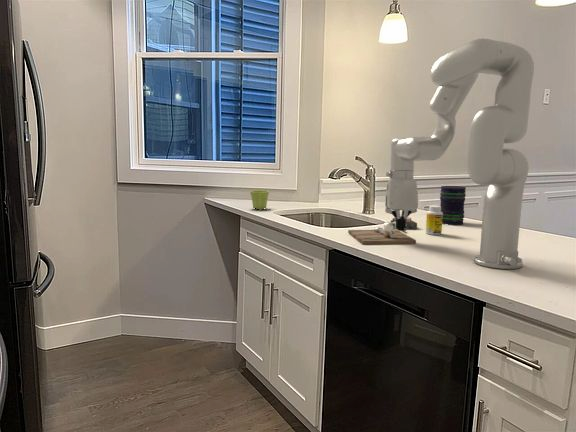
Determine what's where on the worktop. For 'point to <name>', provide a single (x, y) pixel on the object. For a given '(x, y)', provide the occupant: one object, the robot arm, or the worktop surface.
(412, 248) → the worktop surface
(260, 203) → the plant pot
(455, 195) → the storage jar
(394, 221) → the walkie-talkie
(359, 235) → the dial board
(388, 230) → the lever
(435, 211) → the supplement bottle
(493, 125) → the robot arm
